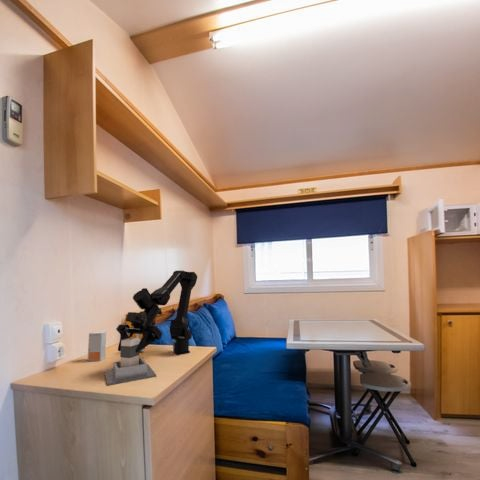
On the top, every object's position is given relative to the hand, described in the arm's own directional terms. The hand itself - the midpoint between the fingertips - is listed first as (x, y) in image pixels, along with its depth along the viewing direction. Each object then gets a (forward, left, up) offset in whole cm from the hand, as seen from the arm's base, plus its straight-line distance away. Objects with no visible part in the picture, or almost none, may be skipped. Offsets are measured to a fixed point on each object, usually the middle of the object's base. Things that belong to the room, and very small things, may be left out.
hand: (127, 351), depth 105 cm
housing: (-1, -1, -9) cm, 9 cm away
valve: (-9, -36, -9) cm, 38 cm away
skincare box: (+9, -32, -9) cm, 34 cm away
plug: (-1, -1, -8) cm, 8 cm away
